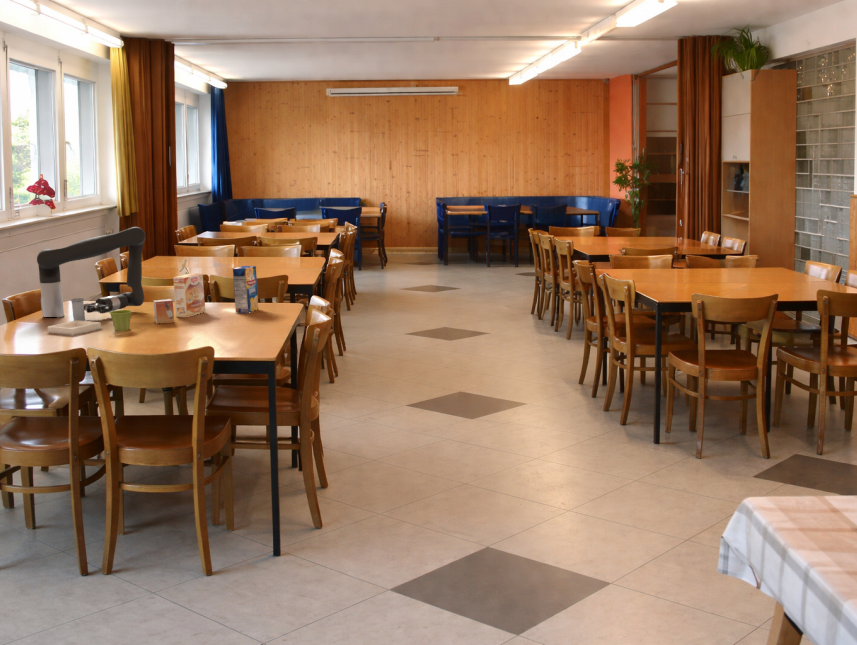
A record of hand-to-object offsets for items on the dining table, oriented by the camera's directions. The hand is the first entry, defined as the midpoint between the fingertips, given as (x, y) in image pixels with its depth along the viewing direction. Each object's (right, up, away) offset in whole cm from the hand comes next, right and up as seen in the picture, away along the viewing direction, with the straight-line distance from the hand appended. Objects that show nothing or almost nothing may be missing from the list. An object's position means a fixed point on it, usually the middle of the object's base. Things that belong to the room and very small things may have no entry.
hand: (80, 310), depth 378 cm
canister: (0, -7, 0) cm, 7 cm away
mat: (+5, -10, -18) cm, 21 cm away
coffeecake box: (+46, -2, +20) cm, 50 cm away
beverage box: (+72, 0, +26) cm, 76 cm away
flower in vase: (+37, +3, +46) cm, 60 cm away
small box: (+39, -6, +1) cm, 39 cm away
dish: (+5, -10, -18) cm, 21 cm away
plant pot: (+26, -10, -17) cm, 32 cm away
